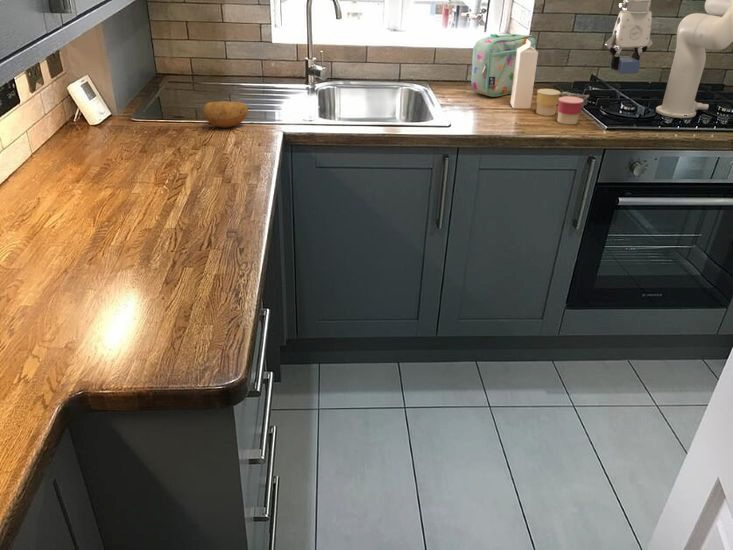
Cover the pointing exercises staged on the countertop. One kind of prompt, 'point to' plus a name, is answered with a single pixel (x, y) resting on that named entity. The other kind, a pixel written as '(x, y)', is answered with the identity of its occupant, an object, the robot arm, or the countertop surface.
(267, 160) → the countertop surface
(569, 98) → the raspberry yogurt
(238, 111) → the potato
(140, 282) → the countertop surface
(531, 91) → the milk
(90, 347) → the countertop surface
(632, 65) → the block
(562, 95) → the egg carton
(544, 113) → the vanilla yogurt
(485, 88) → the lunch box
